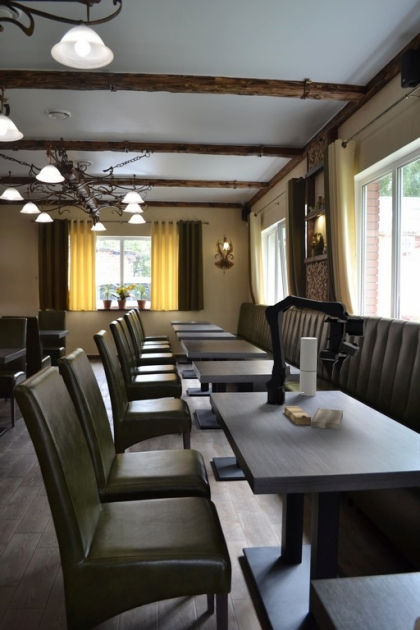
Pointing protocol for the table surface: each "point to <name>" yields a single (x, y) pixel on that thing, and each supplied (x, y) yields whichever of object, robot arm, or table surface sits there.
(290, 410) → the plank
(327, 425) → the floor board
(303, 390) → the cylindrical container
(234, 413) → the table surface
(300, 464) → the table surface
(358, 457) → the table surface
